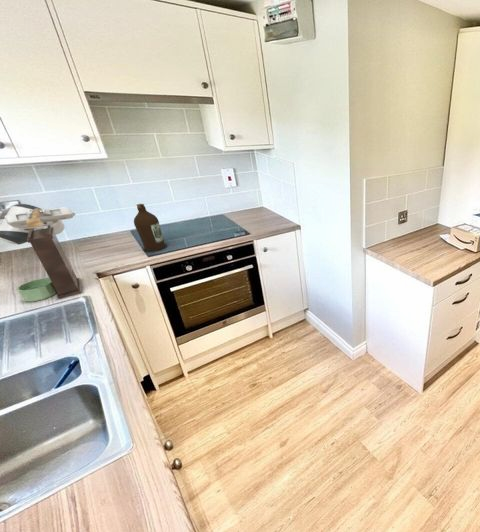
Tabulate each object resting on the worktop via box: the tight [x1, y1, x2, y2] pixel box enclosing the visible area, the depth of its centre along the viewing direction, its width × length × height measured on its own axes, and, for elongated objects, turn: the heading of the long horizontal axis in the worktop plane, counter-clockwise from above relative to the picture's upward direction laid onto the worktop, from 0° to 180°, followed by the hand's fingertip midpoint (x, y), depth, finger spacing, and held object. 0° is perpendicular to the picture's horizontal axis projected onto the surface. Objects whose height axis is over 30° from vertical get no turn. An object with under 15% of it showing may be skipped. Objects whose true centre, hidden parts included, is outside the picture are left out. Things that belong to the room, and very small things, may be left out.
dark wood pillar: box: [26, 225, 82, 300], centre depth 133 cm, size 7×15×27 cm, turn 43°
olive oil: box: [133, 203, 167, 252], centre depth 173 cm, size 11×11×25 cm
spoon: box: [26, 207, 42, 228], centre depth 130 cm, size 4×23×2 cm, turn 43°
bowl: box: [16, 277, 58, 302], centre depth 133 cm, size 10×10×6 cm
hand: (36, 211), depth 135 cm, fingers closed on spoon, 2 cm apart
